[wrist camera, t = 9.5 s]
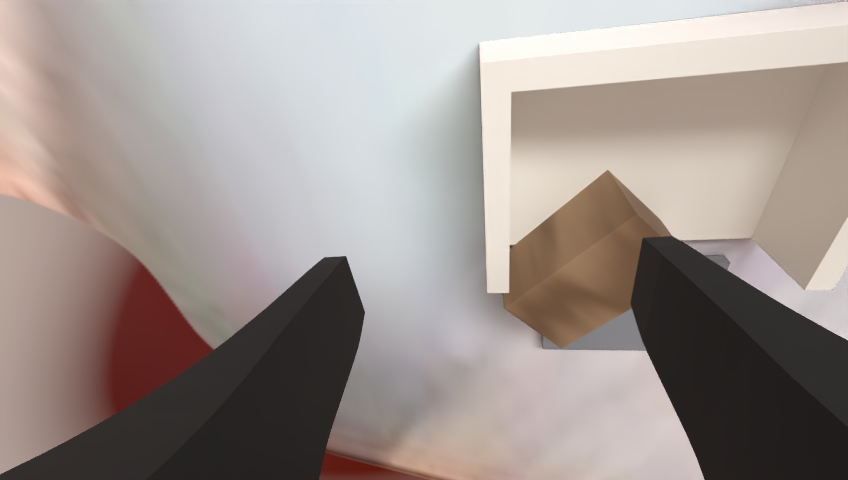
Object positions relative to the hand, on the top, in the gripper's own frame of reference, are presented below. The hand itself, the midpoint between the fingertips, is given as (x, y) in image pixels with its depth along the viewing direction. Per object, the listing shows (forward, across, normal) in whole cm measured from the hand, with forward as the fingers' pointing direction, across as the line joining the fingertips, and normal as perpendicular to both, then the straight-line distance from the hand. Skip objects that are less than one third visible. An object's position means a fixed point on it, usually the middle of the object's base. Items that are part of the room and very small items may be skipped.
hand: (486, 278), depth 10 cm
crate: (+10, -7, +2) cm, 13 cm away
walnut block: (+8, -7, +4) cm, 11 cm away
